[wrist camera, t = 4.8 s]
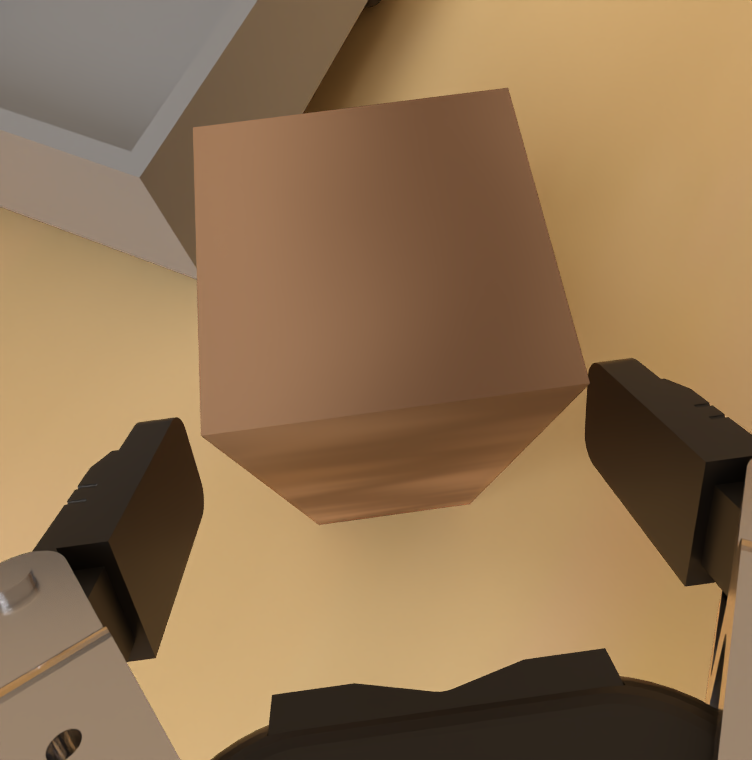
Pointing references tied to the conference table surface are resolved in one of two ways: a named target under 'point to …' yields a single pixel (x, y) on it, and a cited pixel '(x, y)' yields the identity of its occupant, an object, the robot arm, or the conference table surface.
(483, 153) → the walnut block
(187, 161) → the shallow gray tray
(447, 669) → the conference table surface
